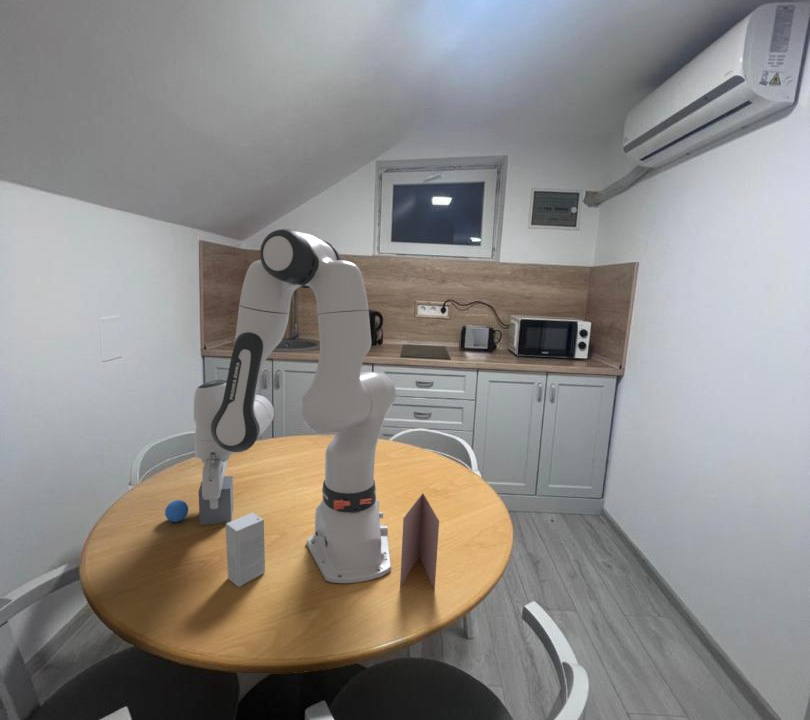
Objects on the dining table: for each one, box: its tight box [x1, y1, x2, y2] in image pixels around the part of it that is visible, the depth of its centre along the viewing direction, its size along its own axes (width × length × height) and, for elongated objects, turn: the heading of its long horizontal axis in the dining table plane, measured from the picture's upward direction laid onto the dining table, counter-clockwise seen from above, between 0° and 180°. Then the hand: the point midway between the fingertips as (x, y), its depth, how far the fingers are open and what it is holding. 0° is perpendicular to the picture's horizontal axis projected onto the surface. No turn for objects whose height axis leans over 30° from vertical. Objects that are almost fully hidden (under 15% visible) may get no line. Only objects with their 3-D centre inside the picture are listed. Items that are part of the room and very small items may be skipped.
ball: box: [164, 499, 189, 523], centre depth 105 cm, size 5×5×5 cm
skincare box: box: [225, 512, 266, 588], centre depth 86 cm, size 6×4×12 cm
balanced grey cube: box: [198, 475, 234, 526], centre depth 107 cm, size 7×7×9 cm
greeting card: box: [399, 492, 440, 591], centre depth 89 cm, size 11×7×15 cm, turn 159°
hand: (216, 498), depth 107 cm, fingers closed on balanced grey cube, 7 cm apart
